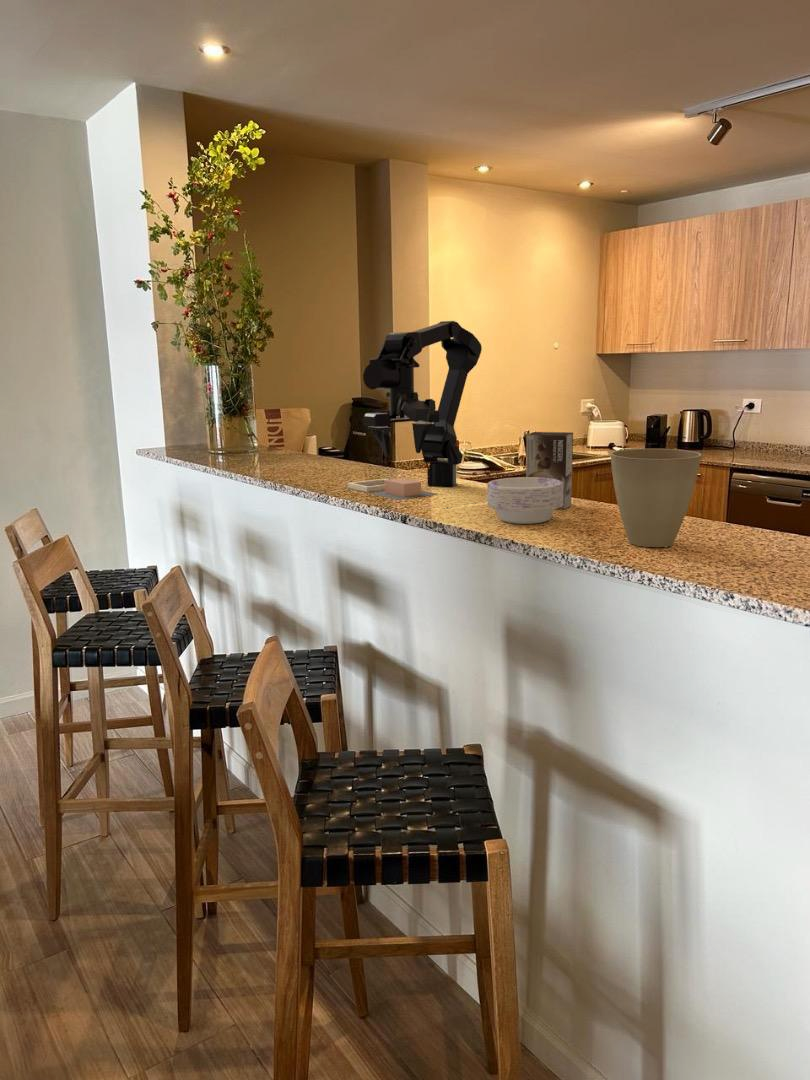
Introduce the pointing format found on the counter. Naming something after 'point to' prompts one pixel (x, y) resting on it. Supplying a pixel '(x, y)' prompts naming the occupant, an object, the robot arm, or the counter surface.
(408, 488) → the pink rectangular block
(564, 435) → the coffee box
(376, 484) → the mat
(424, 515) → the counter surface
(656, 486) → the plant pot
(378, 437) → the robot arm
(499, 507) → the paper bowls
